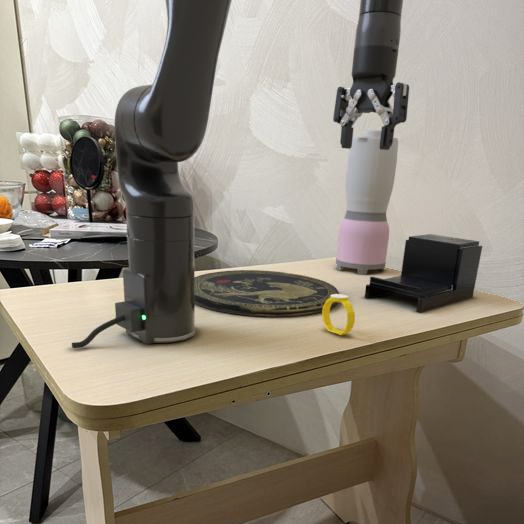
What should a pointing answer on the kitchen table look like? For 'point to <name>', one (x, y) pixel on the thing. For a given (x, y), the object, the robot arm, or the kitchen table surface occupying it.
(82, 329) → the kitchen table surface
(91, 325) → the kitchen table surface
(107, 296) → the kitchen table surface
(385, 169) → the blender
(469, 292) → the black stepped block
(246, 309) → the decorative plate
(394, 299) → the kitchen table surface
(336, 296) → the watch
